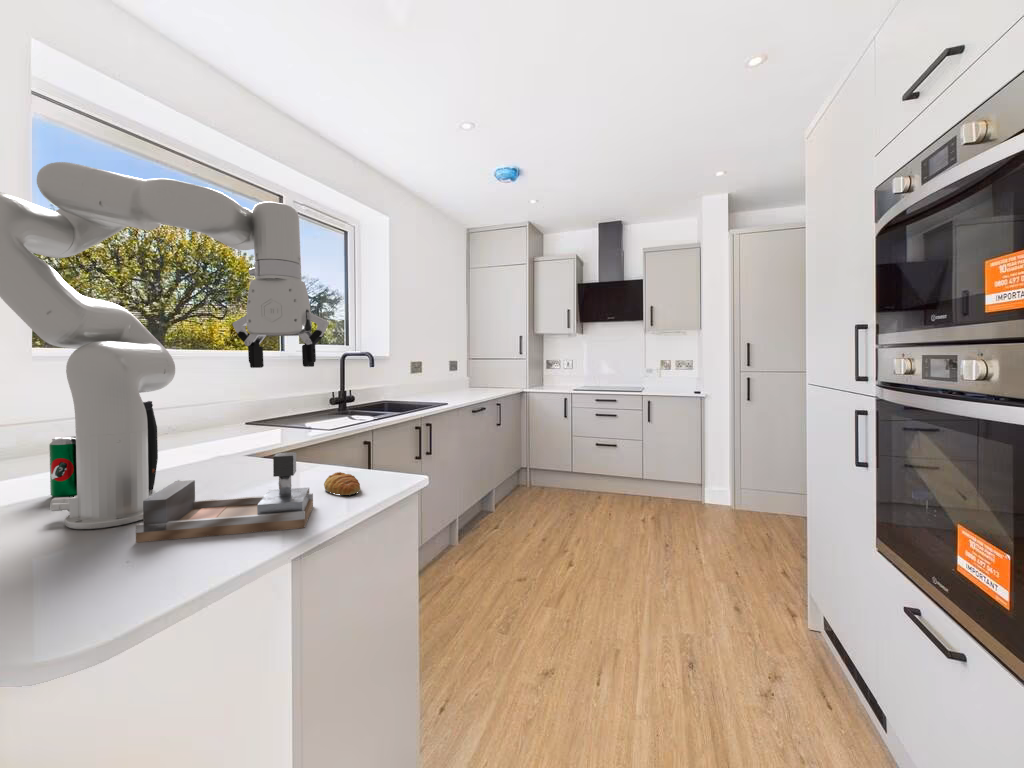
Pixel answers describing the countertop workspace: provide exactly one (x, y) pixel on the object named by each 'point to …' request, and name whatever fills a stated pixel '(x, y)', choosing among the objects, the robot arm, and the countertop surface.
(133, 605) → the countertop surface
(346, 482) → the pastry
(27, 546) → the countertop surface
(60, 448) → the soda can
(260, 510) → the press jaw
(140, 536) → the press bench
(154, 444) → the portable speaker
